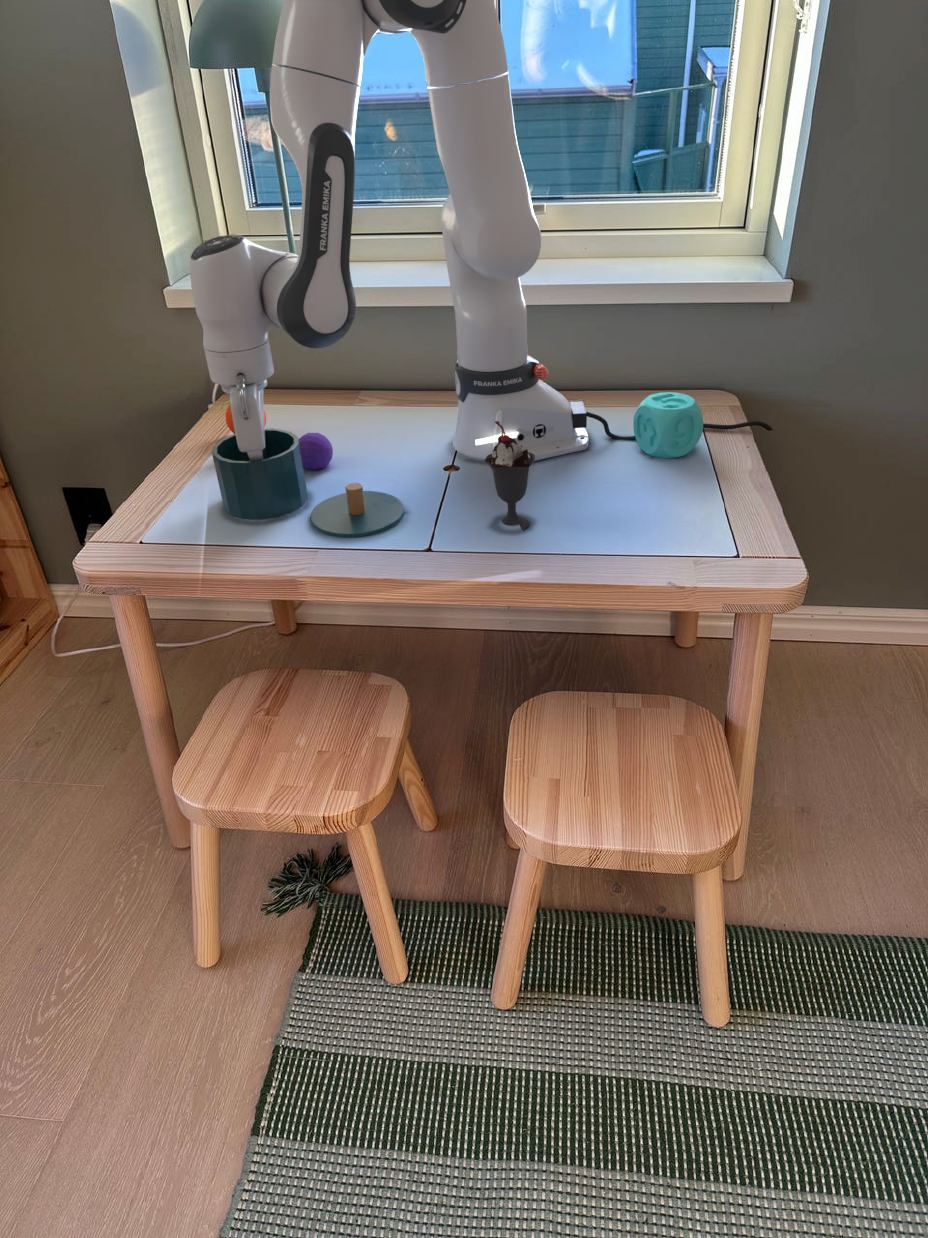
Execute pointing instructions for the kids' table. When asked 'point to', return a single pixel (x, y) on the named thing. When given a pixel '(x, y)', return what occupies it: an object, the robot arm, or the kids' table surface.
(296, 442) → the pot
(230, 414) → the clementine
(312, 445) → the kendama
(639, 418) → the decorative dice
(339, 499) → the lid
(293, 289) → the robot arm
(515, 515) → the sundae
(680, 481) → the kids' table surface
